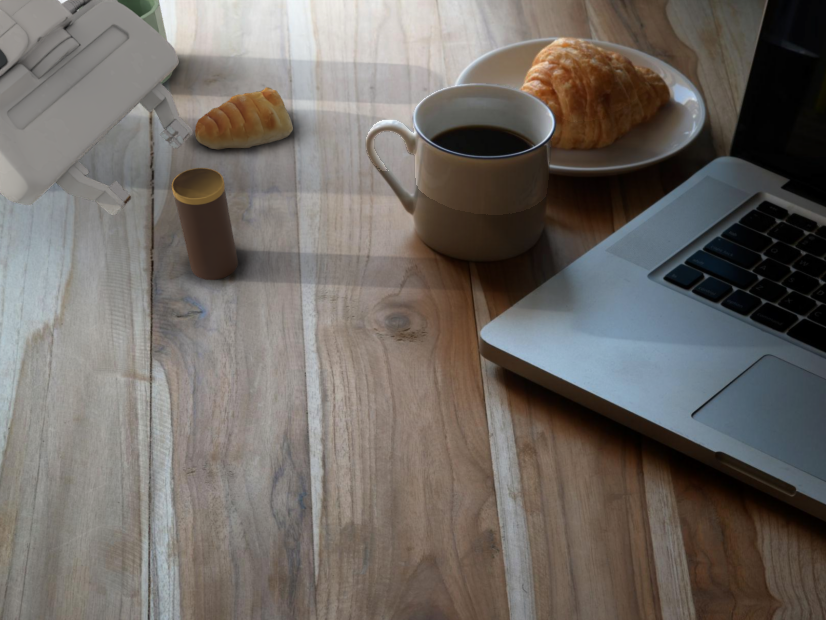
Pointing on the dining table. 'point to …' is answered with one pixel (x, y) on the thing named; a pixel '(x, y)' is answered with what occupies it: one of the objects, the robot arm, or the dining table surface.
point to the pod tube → (205, 222)
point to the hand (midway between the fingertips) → (155, 172)
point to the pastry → (245, 121)
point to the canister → (148, 16)
